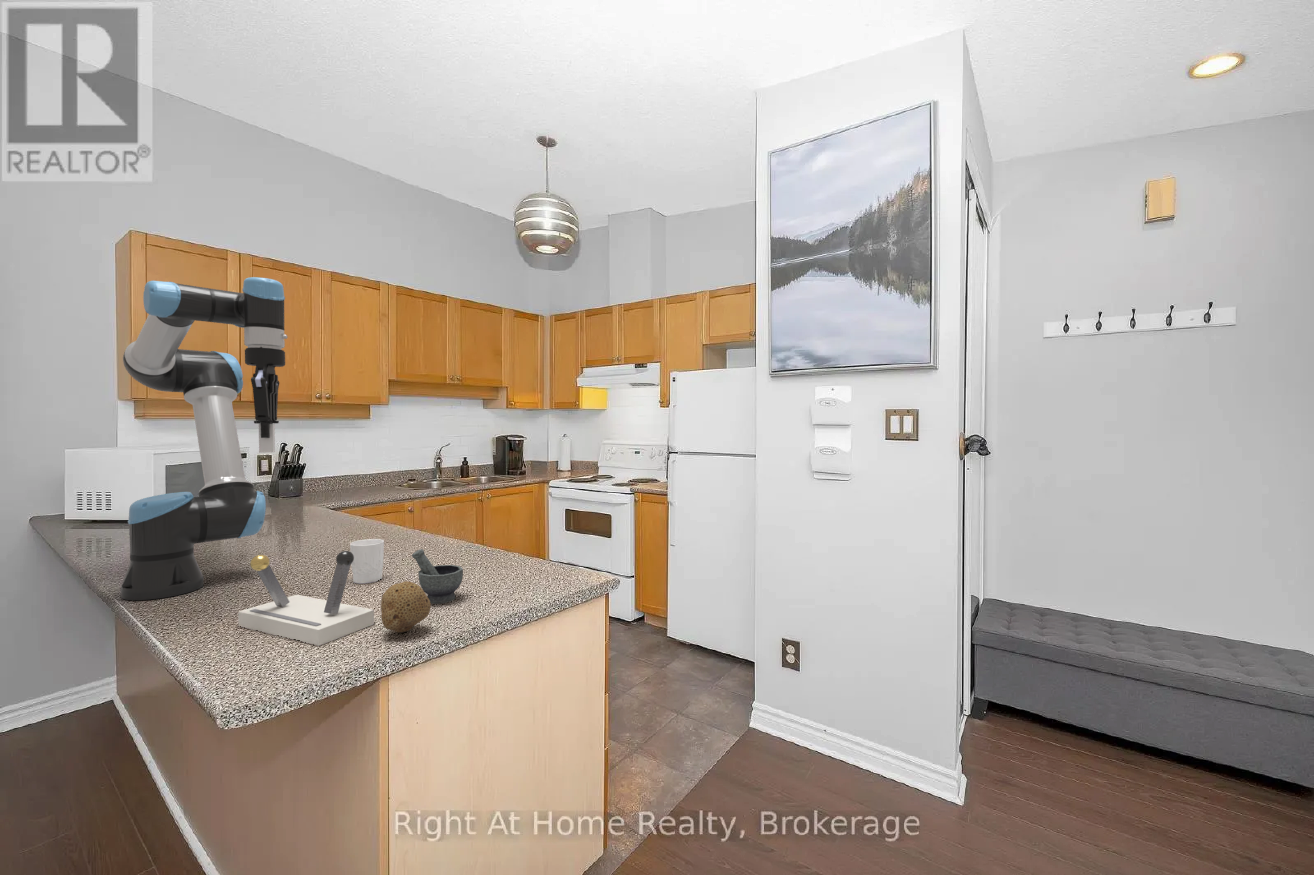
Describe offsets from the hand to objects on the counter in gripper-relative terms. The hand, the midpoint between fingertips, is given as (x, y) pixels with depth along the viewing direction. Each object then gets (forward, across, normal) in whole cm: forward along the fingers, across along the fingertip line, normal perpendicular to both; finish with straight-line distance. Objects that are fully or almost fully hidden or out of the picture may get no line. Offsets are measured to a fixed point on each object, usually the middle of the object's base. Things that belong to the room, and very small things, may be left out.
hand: (267, 452), depth 128 cm
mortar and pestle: (+35, -12, -36) cm, 51 cm away
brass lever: (+31, -15, -6) cm, 35 cm away
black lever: (+31, -25, -16) cm, 43 cm away
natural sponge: (+35, -31, -30) cm, 55 cm away
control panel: (+34, -20, -11) cm, 41 cm away
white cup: (+35, +11, -19) cm, 41 cm away
